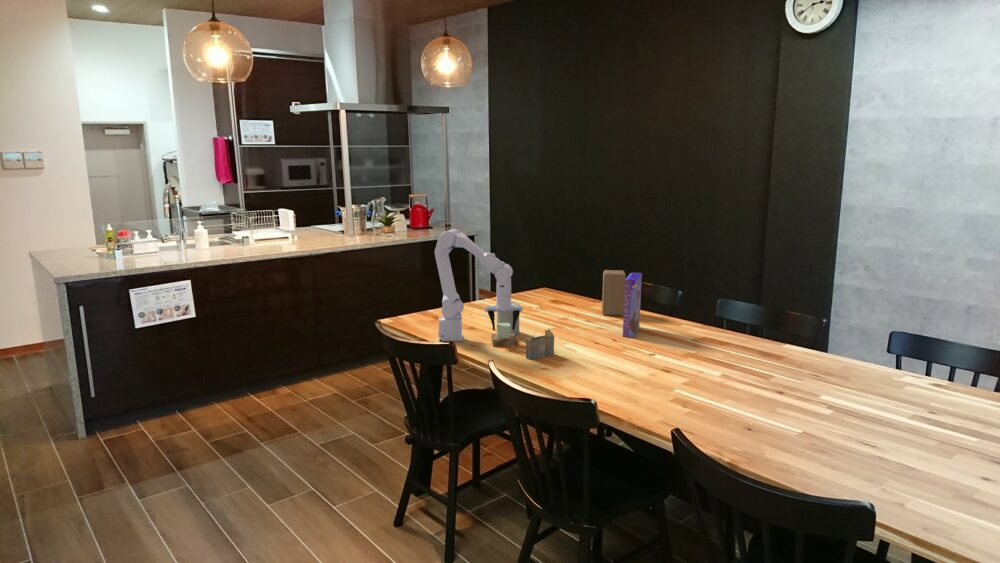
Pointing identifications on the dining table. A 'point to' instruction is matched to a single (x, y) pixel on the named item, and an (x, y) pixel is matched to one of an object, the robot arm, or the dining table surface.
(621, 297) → the wooden block
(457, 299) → the robot arm
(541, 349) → the ruin model on sheet
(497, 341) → the walnut slab
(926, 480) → the dining table surface
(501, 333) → the sage cube
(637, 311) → the cereal box
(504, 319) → the grey cylinder
